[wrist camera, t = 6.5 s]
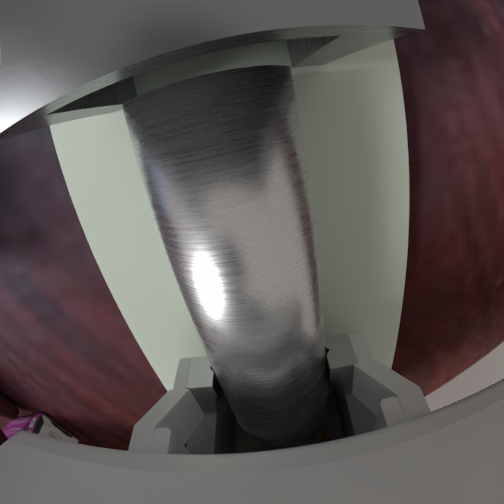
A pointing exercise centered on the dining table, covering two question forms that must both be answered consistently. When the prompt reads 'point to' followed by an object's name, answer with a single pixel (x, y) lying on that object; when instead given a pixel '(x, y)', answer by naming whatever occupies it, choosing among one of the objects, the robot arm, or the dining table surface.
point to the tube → (241, 240)
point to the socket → (234, 441)
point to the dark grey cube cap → (162, 45)
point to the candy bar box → (38, 427)
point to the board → (322, 189)
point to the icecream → (7, 414)
